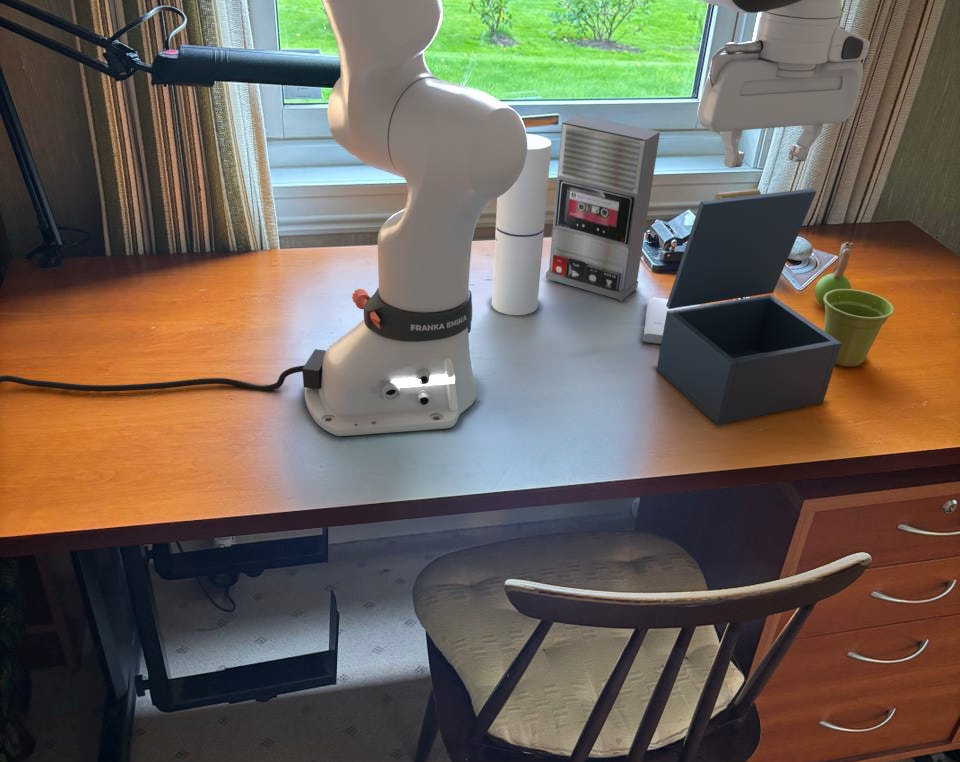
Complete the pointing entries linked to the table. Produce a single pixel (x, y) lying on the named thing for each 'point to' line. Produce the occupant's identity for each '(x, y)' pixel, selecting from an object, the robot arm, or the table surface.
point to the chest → (746, 358)
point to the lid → (739, 245)
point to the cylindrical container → (521, 233)
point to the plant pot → (854, 322)
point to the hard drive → (656, 319)
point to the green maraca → (835, 275)
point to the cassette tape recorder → (601, 205)
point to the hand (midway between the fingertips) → (764, 163)
